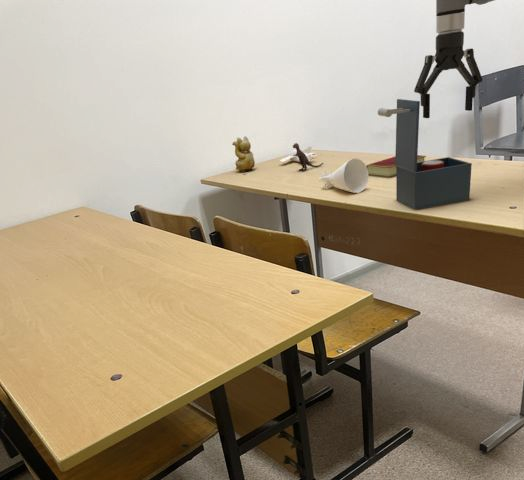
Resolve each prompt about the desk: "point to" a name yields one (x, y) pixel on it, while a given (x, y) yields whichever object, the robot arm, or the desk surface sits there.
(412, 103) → the lid
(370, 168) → the hardcover book
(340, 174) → the rocket engine
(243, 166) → the decorative figurine
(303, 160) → the dinosaur model
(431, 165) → the can
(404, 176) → the chest
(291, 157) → the airplane model
